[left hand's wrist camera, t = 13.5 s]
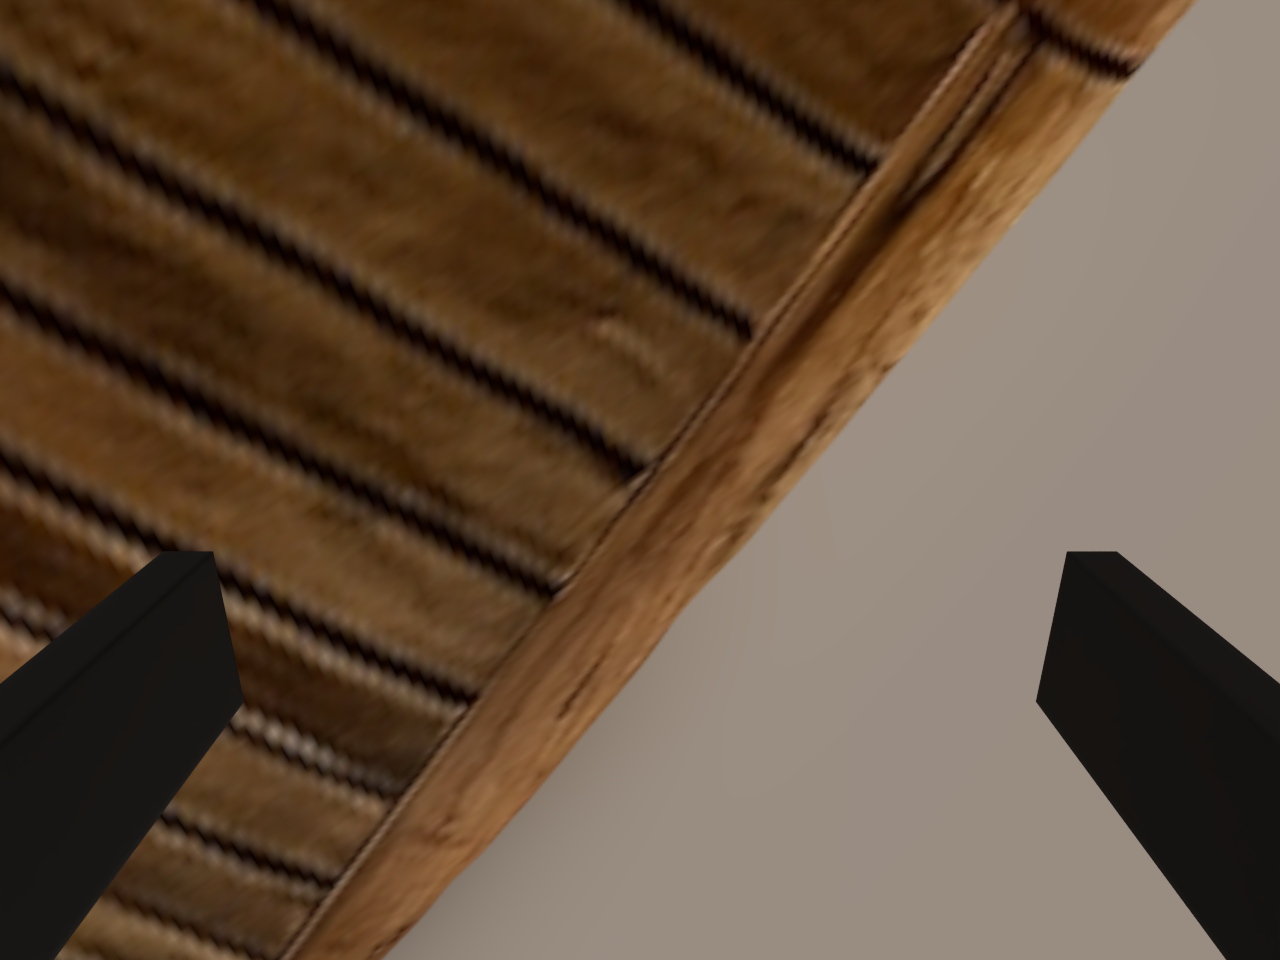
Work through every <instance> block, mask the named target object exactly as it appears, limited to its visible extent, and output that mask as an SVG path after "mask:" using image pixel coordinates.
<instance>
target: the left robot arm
mask: <svg viewBox="0 0 1280 960" xmlns="http://www.w3.org/2000/svg"><path fill="white" fill-rule="evenodd" d="M243 702H244V699H243V694H242V689H241V685H240V680H239V675H238V670H237V665H236V660H235V655H234V651H233V646H232V641H231V636H230V631H229V626H228V622H227V617H226V612H225V607H224V602H223V597H222V593H221V588H220V583H219V578H218V573H217V568H216V564H215V559H214V554H213V552H162V553H161V554H160V555H158V556H157V557H156V558H155V559H153V560H152V561H151V562H150V563H148V564H147V565H146V566H145V567H143V568H142V569H141V570H140V571H139V572H137V573H136V574H135V575H134V576H132V577H131V578H130V579H129V580H127V581H126V582H125V583H124V584H123V585H121V586H120V587H119V588H118V589H116V590H115V591H114V592H113V593H111V594H110V595H109V596H108V597H107V598H105V599H104V600H103V601H102V602H100V603H99V604H98V605H97V606H95V607H94V608H93V609H92V610H91V611H89V612H88V613H87V614H86V615H84V616H83V617H82V618H81V619H79V620H78V621H77V622H76V623H75V624H73V625H72V626H71V627H70V628H68V629H67V630H66V631H65V632H63V633H62V634H61V635H60V636H59V637H57V638H56V639H55V640H54V641H52V642H51V643H50V644H49V645H47V646H46V647H45V648H44V649H43V650H41V651H40V652H39V653H38V654H36V655H35V656H34V657H33V658H31V659H30V660H29V661H28V662H27V663H25V664H24V665H23V666H22V667H20V668H19V669H18V670H17V671H15V672H14V673H13V674H12V675H10V676H9V677H8V678H7V679H6V680H4V681H3V682H2V683H1V684H0V960H54V959H55V957H56V956H57V955H58V953H59V952H60V951H61V949H62V948H63V947H64V945H65V944H66V942H67V941H68V940H69V938H70V937H71V936H72V934H73V933H74V932H75V930H76V929H77V928H78V926H79V925H80V923H81V922H82V921H83V919H84V918H85V917H86V915H87V914H88V913H89V911H90V910H91V909H92V907H93V906H94V904H95V903H96V902H97V900H98V899H99V898H100V896H101V895H102V894H103V892H104V891H105V890H106V888H107V887H108V885H109V884H110V883H111V881H112V880H113V879H114V877H115V876H116V875H117V873H118V872H119V871H120V869H121V868H122V866H123V865H124V864H125V862H126V861H127V860H128V858H129V857H130V856H131V854H132V853H133V852H134V850H135V849H136V848H137V846H138V845H139V843H140V842H141V841H142V839H143V838H144V837H145V835H146V834H147V833H148V831H149V830H150V829H151V827H152V826H153V824H154V823H155V822H156V820H157V819H158V818H159V816H160V815H161V814H162V812H163V811H164V810H165V808H166V807H167V805H168V804H169V803H170V801H171V800H172V799H173V797H174V796H175V795H176V793H177V792H178V791H179V789H180V788H181V786H182V785H183V784H184V782H185V781H186V780H187V778H188V777H189V776H190V774H191V773H192V772H193V770H194V769H195V767H196V766H197V765H198V763H199V762H200V761H201V759H202V758H203V757H204V755H205V754H206V753H207V751H208V750H209V748H210V747H211V746H212V744H213V743H214V742H215V740H216V739H217V738H218V736H219V735H220V734H221V732H222V731H223V729H224V728H225V727H226V725H227V724H228V723H229V721H230V720H231V719H232V717H233V716H234V715H235V713H236V712H237V710H238V709H239V708H240V706H241V705H242V704H243ZM1036 702H1037V704H1038V705H1039V706H1040V708H1041V709H1042V710H1043V712H1044V713H1045V715H1046V716H1047V717H1048V719H1049V720H1050V721H1051V723H1052V724H1053V725H1054V727H1055V728H1056V729H1057V731H1058V732H1059V733H1060V735H1061V736H1062V738H1063V739H1064V740H1065V742H1066V743H1067V744H1068V746H1069V747H1070V748H1071V750H1072V751H1073V753H1074V754H1075V755H1076V757H1077V758H1078V759H1079V761H1080V762H1081V763H1082V765H1083V766H1084V767H1085V769H1086V770H1087V771H1088V773H1089V774H1090V776H1091V777H1092V778H1093V780H1094V781H1095V782H1096V784H1097V785H1098V786H1099V788H1100V789H1101V791H1102V792H1103V793H1104V795H1105V796H1106V797H1107V799H1108V800H1109V801H1110V803H1111V804H1112V805H1113V807H1114V808H1115V810H1116V811H1117V812H1118V814H1119V815H1120V816H1121V818H1122V819H1123V820H1124V822H1125V823H1126V824H1127V826H1128V827H1129V828H1130V830H1131V831H1132V833H1133V834H1134V835H1135V837H1136V838H1137V839H1138V841H1139V842H1140V843H1141V845H1142V846H1143V848H1144V849H1145V850H1146V852H1147V853H1148V854H1149V856H1150V857H1151V858H1152V860H1153V861H1154V862H1155V864H1156V865H1157V867H1158V868H1159V869H1160V871H1161V872H1162V873H1163V875H1164V876H1165V877H1166V879H1167V880H1168V881H1169V883H1170V884H1171V885H1172V887H1173V888H1174V890H1175V891H1176V892H1177V894H1178V895H1179V896H1180V898H1181V899H1182V900H1183V902H1184V903H1185V904H1186V906H1187V907H1188V909H1189V910H1190V911H1191V913H1192V914H1193V915H1194V917H1195V918H1196V919H1197V921H1198V922H1199V923H1200V925H1201V926H1202V928H1203V929H1204V930H1205V932H1206V933H1207V934H1208V936H1209V937H1210V938H1211V940H1212V941H1213V942H1214V944H1215V945H1216V947H1217V948H1218V949H1219V951H1220V952H1221V953H1222V955H1223V956H1224V957H1225V959H1226V960H1280V684H1279V683H1278V682H1277V681H1276V680H1274V679H1273V678H1272V677H1271V676H1269V675H1268V674H1267V673H1266V672H1265V671H1263V670H1262V669H1261V668H1260V667H1258V666H1257V665H1256V664H1255V663H1253V662H1252V661H1251V660H1250V659H1249V658H1247V657H1246V656H1245V655H1244V654H1242V653H1241V652H1240V651H1239V650H1237V649H1236V648H1235V647H1234V646H1233V645H1231V644H1230V643H1229V642H1228V641H1226V640H1225V639H1224V638H1223V637H1221V636H1220V635H1219V634H1218V633H1216V632H1215V631H1214V630H1213V629H1212V628H1210V627H1209V626H1208V625H1207V624H1205V623H1204V622H1203V621H1202V620H1201V619H1199V618H1198V617H1197V616H1196V615H1194V614H1193V613H1192V612H1191V611H1189V610H1188V609H1187V608H1186V607H1185V606H1183V605H1182V604H1181V603H1180V602H1178V601H1177V600H1176V599H1175V598H1173V597H1172V596H1171V595H1170V594H1169V593H1167V592H1166V591H1165V590H1164V589H1162V588H1161V587H1160V586H1159V585H1157V584H1156V583H1155V582H1154V581H1153V580H1151V579H1150V578H1149V577H1148V576H1146V575H1145V574H1144V573H1143V572H1141V571H1140V570H1139V569H1138V568H1136V567H1135V566H1134V565H1133V564H1132V563H1130V562H1129V561H1128V560H1127V559H1125V558H1124V557H1123V556H1122V555H1120V554H1119V553H1118V552H1067V554H1066V559H1065V564H1064V569H1063V573H1062V578H1061V583H1060V588H1059V593H1058V598H1057V602H1056V607H1055V612H1054V617H1053V622H1052V627H1051V631H1050V636H1049V641H1048V646H1047V651H1046V656H1045V661H1044V665H1043V670H1042V675H1041V680H1040V685H1039V689H1038V694H1037V699H1036Z"/></svg>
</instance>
